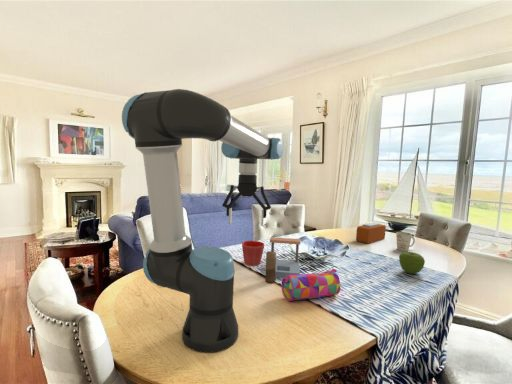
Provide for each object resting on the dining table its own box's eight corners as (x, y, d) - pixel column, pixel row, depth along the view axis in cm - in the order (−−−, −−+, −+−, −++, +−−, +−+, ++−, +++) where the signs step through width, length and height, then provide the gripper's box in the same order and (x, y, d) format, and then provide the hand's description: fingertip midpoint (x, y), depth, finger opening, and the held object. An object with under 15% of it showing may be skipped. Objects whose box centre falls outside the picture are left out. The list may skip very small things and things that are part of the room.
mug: (391, 248, 172) (393, 232, 172) (408, 247, 176) (409, 231, 175) (402, 252, 165) (404, 235, 164) (419, 250, 168) (420, 234, 167)
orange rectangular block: (373, 236, 201) (374, 221, 200) (385, 239, 195) (386, 223, 194) (355, 241, 186) (356, 224, 185) (367, 244, 179) (368, 227, 178)
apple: (417, 279, 123) (419, 257, 122) (393, 271, 131) (395, 250, 130) (427, 273, 130) (429, 252, 129) (403, 267, 138) (405, 247, 137)
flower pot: (267, 265, 133) (268, 245, 133) (245, 267, 129) (246, 247, 128) (258, 258, 143) (259, 239, 142) (238, 260, 139) (239, 241, 138)
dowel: (274, 283, 113) (275, 254, 112) (264, 283, 113) (265, 253, 112) (275, 280, 117) (276, 251, 115) (265, 279, 117) (266, 251, 116)
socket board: (299, 279, 118) (301, 248, 117) (266, 276, 120) (267, 246, 119) (298, 266, 134) (300, 239, 133) (269, 263, 136) (270, 237, 135)
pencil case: (326, 287, 112) (327, 265, 111) (342, 297, 103) (344, 273, 102) (278, 295, 103) (279, 271, 102) (291, 307, 94) (293, 281, 93)
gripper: (278, 175, 119) (275, 224, 121) (220, 172, 121) (218, 221, 123) (277, 175, 112) (275, 228, 113) (216, 173, 114) (214, 224, 116)
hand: (246, 224), depth 118 cm, fingers open, 13 cm apart
